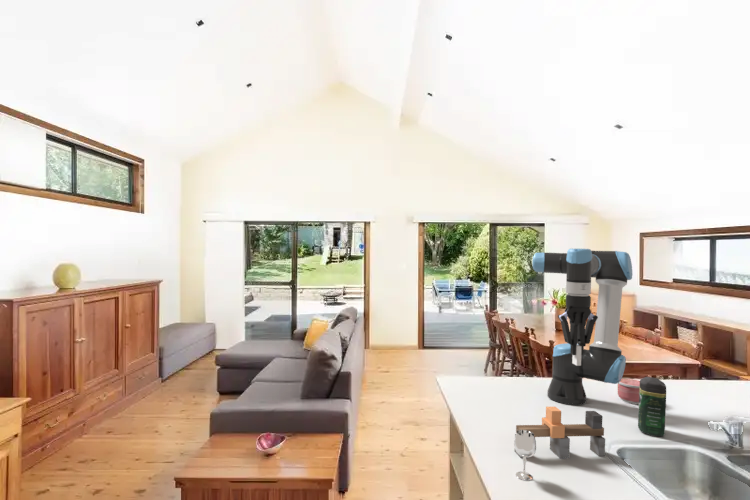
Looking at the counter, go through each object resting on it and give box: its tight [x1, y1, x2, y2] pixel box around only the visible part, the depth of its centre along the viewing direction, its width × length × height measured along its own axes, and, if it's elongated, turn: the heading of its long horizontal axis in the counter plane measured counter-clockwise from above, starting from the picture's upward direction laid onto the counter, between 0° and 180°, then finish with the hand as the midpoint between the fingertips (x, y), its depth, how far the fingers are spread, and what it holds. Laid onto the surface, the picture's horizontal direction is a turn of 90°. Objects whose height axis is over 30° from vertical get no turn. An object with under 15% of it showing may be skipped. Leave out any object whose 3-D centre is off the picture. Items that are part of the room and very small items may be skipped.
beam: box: [514, 410, 606, 459], centre depth 131 cm, size 6×27×12 cm, turn 96°
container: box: [617, 377, 640, 405], centre depth 179 cm, size 10×10×8 cm
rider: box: [541, 406, 565, 438], centre depth 130 cm, size 6×4×8 cm, turn 6°
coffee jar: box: [637, 376, 667, 437], centre depth 149 cm, size 10×8×19 cm
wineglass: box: [513, 430, 537, 482], centre depth 117 cm, size 6×6×12 cm
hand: (576, 364), depth 141 cm, fingers closed
